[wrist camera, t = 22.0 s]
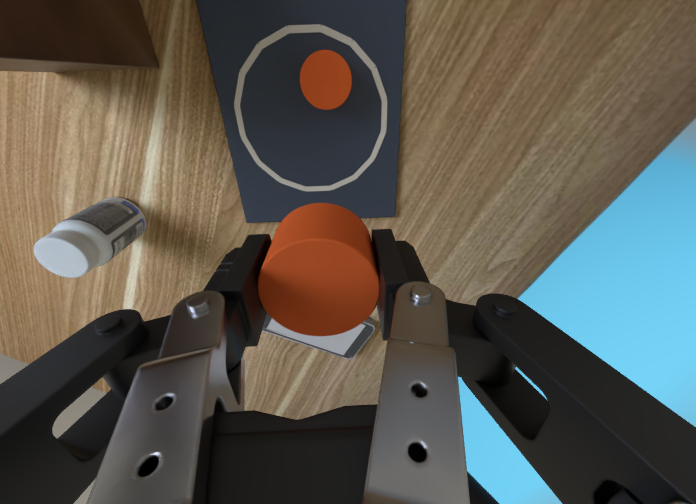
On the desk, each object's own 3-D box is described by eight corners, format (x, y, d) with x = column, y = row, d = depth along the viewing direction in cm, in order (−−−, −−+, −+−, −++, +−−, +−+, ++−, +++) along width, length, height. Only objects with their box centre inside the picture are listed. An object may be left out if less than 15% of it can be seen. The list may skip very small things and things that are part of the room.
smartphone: (270, 286, 35) (377, 326, 39) (272, 281, 36) (376, 321, 40) (250, 326, 38) (351, 360, 42) (252, 321, 39) (351, 354, 43)
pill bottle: (89, 202, 30) (12, 240, 23) (130, 191, 30) (64, 226, 23) (118, 241, 33) (57, 287, 26) (156, 231, 32) (105, 275, 25)
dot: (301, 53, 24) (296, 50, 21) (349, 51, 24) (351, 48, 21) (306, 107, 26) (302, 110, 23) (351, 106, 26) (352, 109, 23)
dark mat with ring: (193, -25, 22) (189, -28, 21) (406, -32, 22) (408, -35, 21) (248, 220, 32) (246, 223, 31) (394, 214, 32) (395, 217, 32)
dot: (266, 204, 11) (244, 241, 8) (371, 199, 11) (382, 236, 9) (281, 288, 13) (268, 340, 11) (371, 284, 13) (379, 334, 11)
